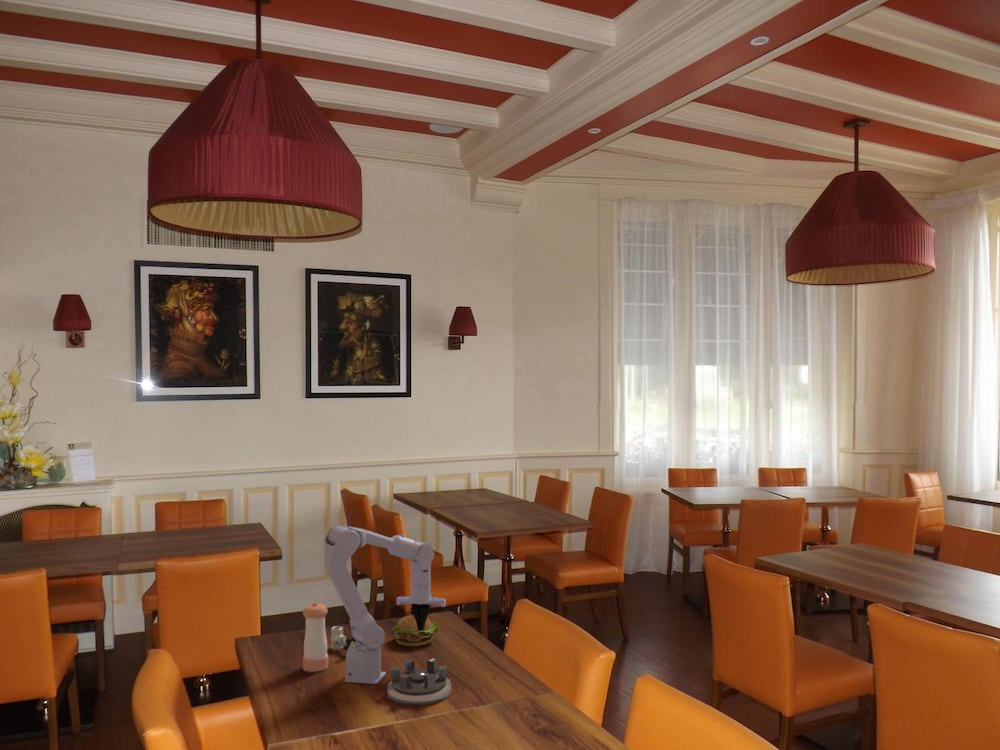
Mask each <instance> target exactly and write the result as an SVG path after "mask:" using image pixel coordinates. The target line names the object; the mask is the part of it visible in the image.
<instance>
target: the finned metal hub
mask: <svg viewBox="0 0 1000 750" xmlns="http://www.w3.org/2000/svg"><path fill="white" fill-rule="evenodd" d="M415 668H416V667H415V660H413V659H412V658H411V659H405V660H404V661H403V671H402V672H401V667H400V666H392V667H391V673H390V674H391V680H390V681H392V688H393V689H394V690H396V691H397V692H400V693H403V694H410V695H422V694H429V693H433V692H436V691H439V690H441V689H442V688H444V687H445V686H446V683H447V678H448V675H447V673H448V671H447V668H448V667H447V665H438V659H436V658H429V659H428V660H426V668H417V669H415Z"/></svg>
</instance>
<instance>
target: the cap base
mask: <svg viewBox="0 0 1000 750" xmlns="http://www.w3.org/2000/svg"><path fill="white" fill-rule="evenodd" d="M386 688H387V689H386V690H387V691H386V692H387V694H386V696H387V698H388V699H389V700H390V701H391V702H393V703H396V704H398V705H403V706H412V707H413V706H414V707H415V706H429V705H433V704H436V703H440V702H442V701H444V700H447V698H448V697H450V695H451V693H452V681H451V680H450V679H449V678H448V677H447V683H446V686H445V687H444V688H442V689H441V690H439V691H436V692H433V693H429V694H422V695H410V694H403V693H400V692H397V691H396V690H394V689H393V688H392V680H390V681H389V682H388V684H387V687H386Z"/></svg>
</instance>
